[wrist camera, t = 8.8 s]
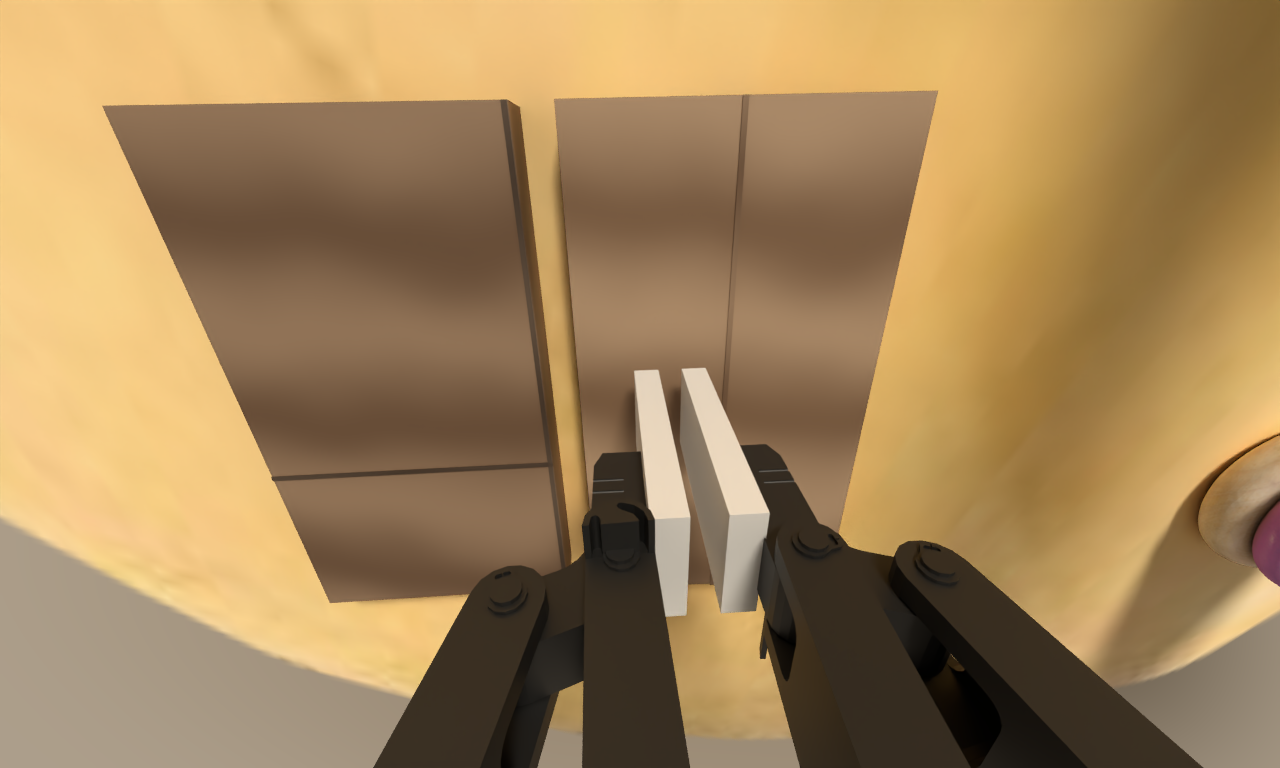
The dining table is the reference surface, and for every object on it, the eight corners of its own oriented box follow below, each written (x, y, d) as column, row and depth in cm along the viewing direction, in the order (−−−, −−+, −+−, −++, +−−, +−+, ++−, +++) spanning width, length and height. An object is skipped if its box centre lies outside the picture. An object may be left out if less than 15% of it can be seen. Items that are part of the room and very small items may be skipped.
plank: (563, 106, 14) (554, 98, 12) (902, 98, 14) (939, 90, 12) (599, 553, 21) (596, 587, 20) (812, 549, 21) (827, 582, 20)
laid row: (164, 112, 13) (100, 105, 11) (519, 107, 14) (506, 99, 12) (351, 568, 21) (329, 604, 19) (571, 555, 21) (568, 588, 20)
